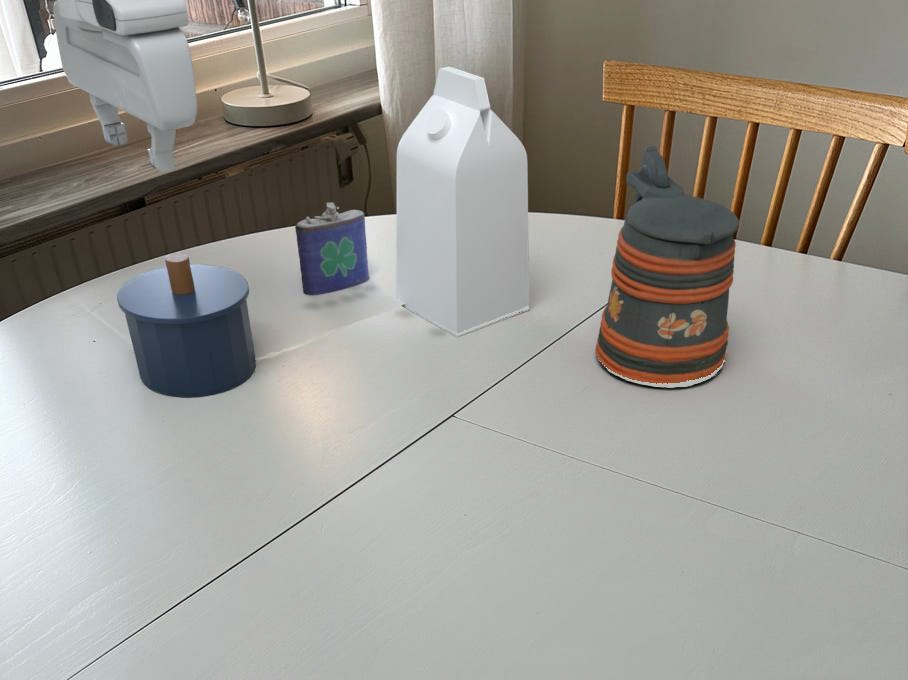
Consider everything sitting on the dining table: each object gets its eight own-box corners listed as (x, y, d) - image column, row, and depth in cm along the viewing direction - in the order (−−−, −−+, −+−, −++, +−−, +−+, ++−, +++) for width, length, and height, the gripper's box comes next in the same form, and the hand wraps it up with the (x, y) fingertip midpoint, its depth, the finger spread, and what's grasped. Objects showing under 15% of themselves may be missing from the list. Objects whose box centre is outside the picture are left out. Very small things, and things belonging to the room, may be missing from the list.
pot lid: (96, 297, 108) (85, 254, 105) (208, 264, 115) (201, 222, 112) (158, 342, 101) (148, 297, 98) (274, 304, 107) (268, 260, 104)
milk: (529, 309, 125) (539, 75, 107) (457, 337, 119) (455, 95, 102) (467, 278, 132) (467, 53, 114) (396, 302, 126) (384, 70, 108)
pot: (120, 366, 114) (101, 293, 108) (218, 332, 120) (205, 262, 114) (176, 409, 107) (159, 334, 101) (277, 372, 113) (267, 298, 107)
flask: (363, 277, 132) (357, 192, 124) (374, 285, 130) (369, 199, 122) (299, 294, 128) (289, 207, 120) (310, 302, 126) (300, 215, 119)
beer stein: (561, 323, 122) (573, 147, 109) (670, 307, 126) (695, 135, 112) (627, 399, 109) (650, 209, 95) (747, 379, 113) (786, 193, 99)
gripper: (23, -26, 93) (62, 135, 103) (128, 16, 82) (160, 192, 92) (87, -34, 96) (119, 123, 106) (197, 6, 85) (221, 177, 95)
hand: (139, 156), depth 99 cm, fingers open, 8 cm apart
